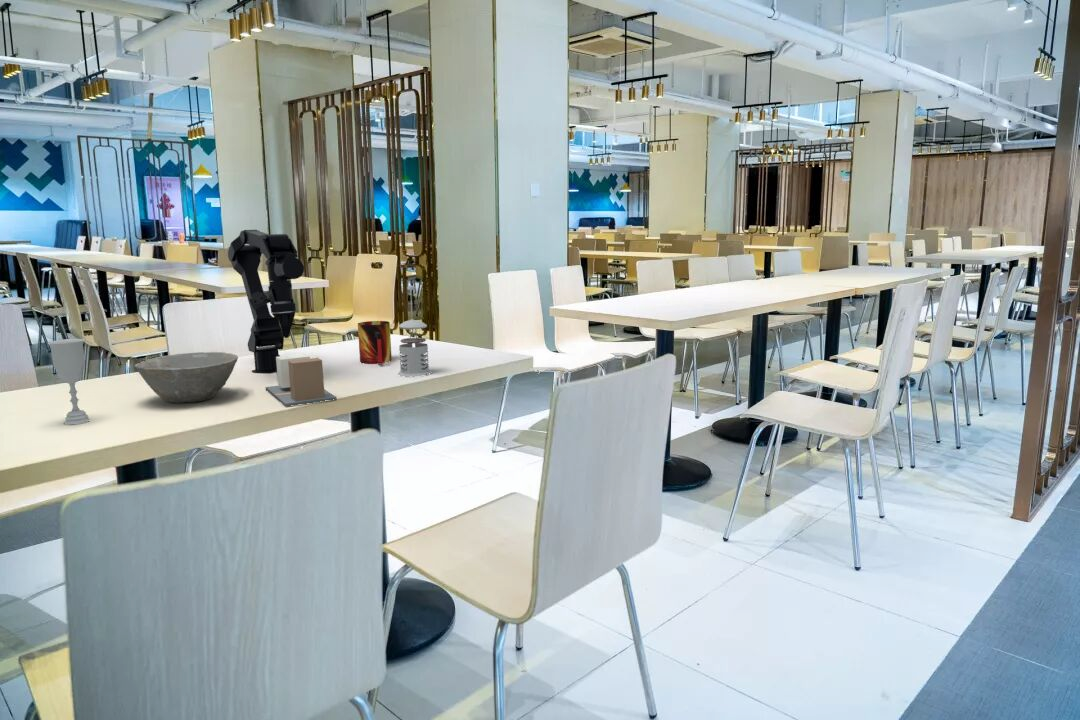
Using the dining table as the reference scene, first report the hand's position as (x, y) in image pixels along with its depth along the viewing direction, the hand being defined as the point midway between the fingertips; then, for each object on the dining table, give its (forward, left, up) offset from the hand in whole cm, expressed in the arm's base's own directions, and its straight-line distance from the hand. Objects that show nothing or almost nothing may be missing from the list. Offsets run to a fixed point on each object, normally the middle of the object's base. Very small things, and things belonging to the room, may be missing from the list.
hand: (286, 337), depth 204 cm
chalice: (-18, -51, -12) cm, 55 cm away
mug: (+11, +29, -12) cm, 34 cm away
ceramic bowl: (-9, -27, -12) cm, 30 cm away
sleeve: (+11, -13, -10) cm, 20 cm away
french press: (+30, +16, -12) cm, 36 cm away
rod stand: (+15, -16, -12) cm, 24 cm away
